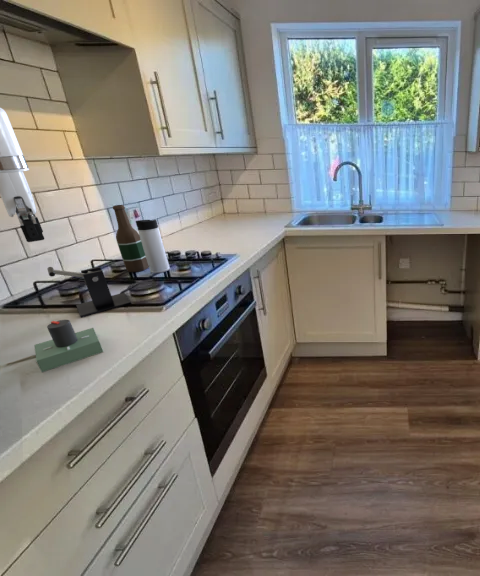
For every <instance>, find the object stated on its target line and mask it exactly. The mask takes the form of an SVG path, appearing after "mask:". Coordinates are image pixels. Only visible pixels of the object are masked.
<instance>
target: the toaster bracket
mask: <svg viewBox="0 0 480 576" xmlns="http://www.w3.org/2000/svg"><path fill="white" fill-rule="evenodd" d="M88 271H93V272H90V273H87V272H88ZM80 273H85V274H83V277H84V278H83V277H82V278H83V281H84V283H85V286H86V288H87V290H88V294H89V296H90V299H91V300H89V301H86V302H82V303H77V304H76V305H75V306H76V308H77V311H78V313H79V316H80V318H81V319H82V318H86V317H89V316H92V315H96V314H97V315H98V314H100V313H103V312H108V311H112V310H114V309H118V308H122V307H125V306H129V305H132V301H131V300H130V298H129V297H128V295H127V294H126V293H125V292H121V293H116V294H113V295H112V293H111V290H110V288H109V285H108V283H107V279H106V277H105V274H104V271H103V270H102V269H101V267H100V266H97V267H96V266H95V267H91V268H86V269H82V270H80Z"/></svg>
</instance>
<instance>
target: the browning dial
mask: <svg viewBox="0 0 480 576" xmlns="http://www.w3.org/2000/svg"><path fill="white" fill-rule="evenodd" d="M46 328H47V330H48V333H49V335H50V337H51V340H53V341H54V344H55V346H56V347H65V346H69V345H71V344H74V343H75V342H76V341H77V340H78V339H77V336H76V334H75V333H76V332H75V330H74V327H73V325H72V321H71V320H70V319H60V320H52V321H50V323H49V324H48V325H47V326H46Z"/></svg>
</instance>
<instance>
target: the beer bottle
mask: <svg viewBox="0 0 480 576" xmlns="http://www.w3.org/2000/svg"><path fill="white" fill-rule="evenodd" d="M112 210H113V211H114V214H115V215H114V216H115V219H116V223H117V231H116V232H115V239H116V243H117V246H118V250H119V252H120V255H121V258H122V262H123V265H124V268H125V269H126V271H127V272H128V273H138V272H142V271H145V270H147V269H150V268H149V265H148V262H147V259H146V255H145V252H144V249H143V245H142V242H141V239H140V235H139V231H138V230H136V229H135V228H134V227H133V226H132V224H131V222H130V219H129V217H128V214H127V211H126V206H125V205H123V204H116V205H112Z"/></svg>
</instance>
